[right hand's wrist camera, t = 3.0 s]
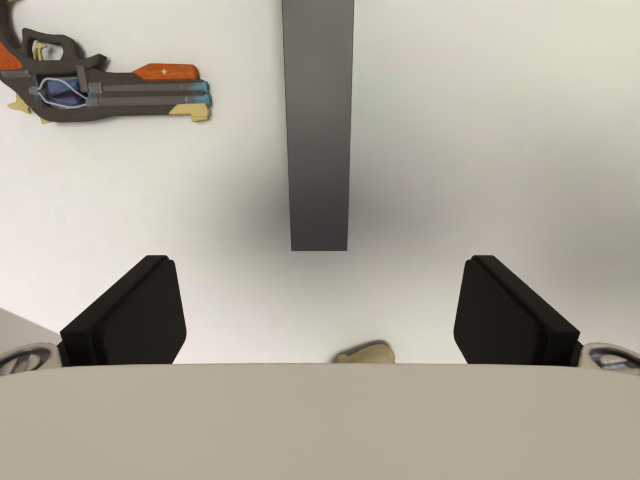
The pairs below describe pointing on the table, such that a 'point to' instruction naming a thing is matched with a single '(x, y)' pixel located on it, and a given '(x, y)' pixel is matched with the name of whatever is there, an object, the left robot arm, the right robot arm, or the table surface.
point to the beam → (318, 120)
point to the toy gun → (94, 83)
